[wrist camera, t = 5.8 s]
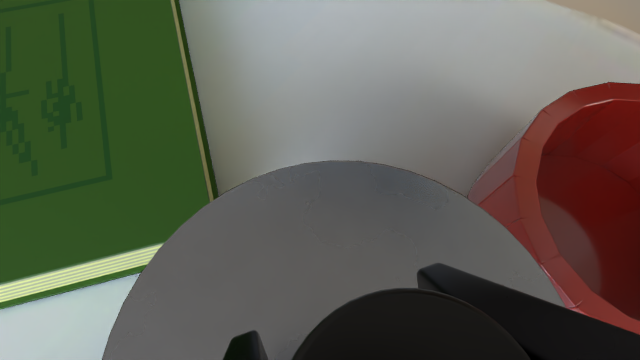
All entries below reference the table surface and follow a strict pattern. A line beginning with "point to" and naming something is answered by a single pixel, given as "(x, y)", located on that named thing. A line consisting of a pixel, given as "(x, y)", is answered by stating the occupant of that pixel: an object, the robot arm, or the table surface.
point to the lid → (326, 272)
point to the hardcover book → (94, 141)
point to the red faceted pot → (577, 198)
